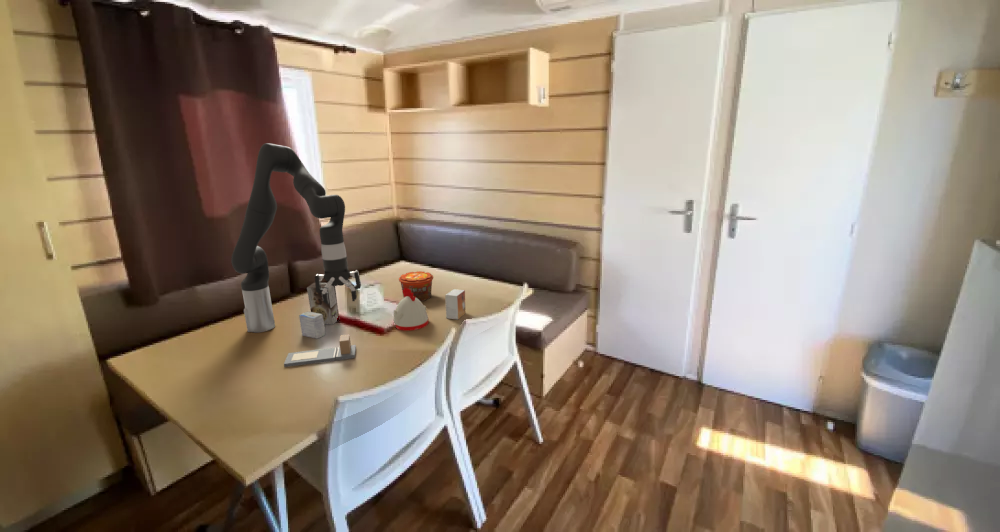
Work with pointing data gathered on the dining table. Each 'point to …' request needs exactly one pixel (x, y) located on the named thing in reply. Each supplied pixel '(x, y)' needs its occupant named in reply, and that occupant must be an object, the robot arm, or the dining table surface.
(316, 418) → the dining table surface
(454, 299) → the small box
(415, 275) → the food container
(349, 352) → the stub
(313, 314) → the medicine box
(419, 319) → the kitchen timer
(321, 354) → the ticket
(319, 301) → the coffee box
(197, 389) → the dining table surface
